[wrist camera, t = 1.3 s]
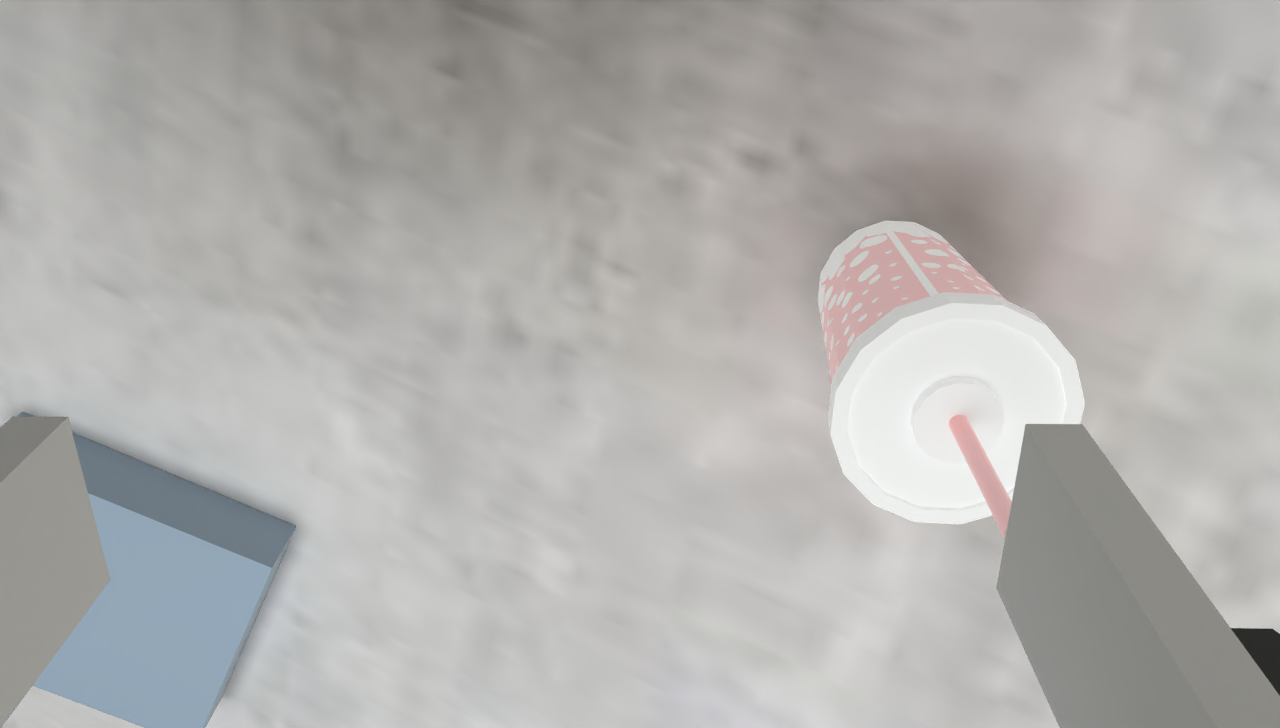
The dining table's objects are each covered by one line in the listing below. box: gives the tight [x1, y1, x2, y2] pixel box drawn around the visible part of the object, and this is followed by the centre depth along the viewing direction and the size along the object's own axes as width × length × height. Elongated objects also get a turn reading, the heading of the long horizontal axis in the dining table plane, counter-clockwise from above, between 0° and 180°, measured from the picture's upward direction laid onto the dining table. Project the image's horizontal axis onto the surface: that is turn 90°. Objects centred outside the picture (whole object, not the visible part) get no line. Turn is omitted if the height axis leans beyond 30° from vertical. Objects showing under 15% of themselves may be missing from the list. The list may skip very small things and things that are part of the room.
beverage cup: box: [818, 221, 1085, 539], centre depth 28 cm, size 6×6×14 cm
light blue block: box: [17, 412, 296, 728], centre depth 39 cm, size 10×9×3 cm
